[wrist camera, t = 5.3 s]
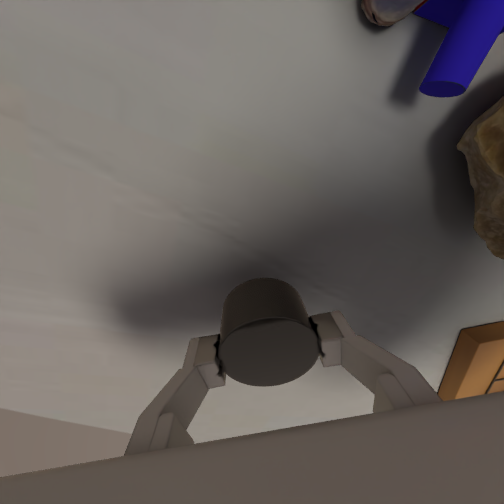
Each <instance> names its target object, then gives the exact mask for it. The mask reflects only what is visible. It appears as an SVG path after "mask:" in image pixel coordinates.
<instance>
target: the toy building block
mask: <svg viewBox="0 0 504 504" xmlns="http://www.w3.org/2000/svg"><path fill="white" fill-rule="evenodd" d="M413 14H416V15H418V16H421V17H423V18H426V19H428V20H431V21H433V22H436V23H438V24H441V25H443V26H446V27H448V28H449V30H448V32H447V34H446V36H445V38H444V40H443V42H442V44H441V46H440V48H439V50H438V52H437V54H436V56H435V58H434V60H433V62H432V64H431V66H430V68H429V70H428V72H427V74H426V76H425V78H424V79H423V81H422V83H421V85H420V87H419V90H420V92H422V93H423V94H426V95H429V96H434V97H453V96H458V95H461V94H463V93H464V92H465V91H466V89H467V87H468V86H469V84H470V82H471V81H472V79H473V77H474V76H475V74H476V72H477V70H478V69H479V67H480V65H481V64H482V62H483V60H484V59H485V57H486V55H487V54H488V52H489V50H490V48H491V47H492V45H493V43H494V42H495V40H496V38H497V37H498V35H499V34H501V33H503V32H504V0H424V1H423V2H422V3H420V4H419V5H418V6H417V7H416V8H415V10H414V12H413Z"/></svg>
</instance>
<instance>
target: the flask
mask: <svg viewBox="0 0 504 504" xmlns="http://www.w3.org/2000/svg"><path fill="white" fill-rule="evenodd" d="M423 1H424V0H362V3H361V8H362V9H363V10H364V12H365V15H366V18H368V20H369V21H370V22H371V23H374V24H375V23H376V22H375V21H374V20H373V17H372V12H373V14H374V15H375V19H376V20H377V22H378V23H376V24H378V25H379V26H382V25H383V26H388V27H389V26H391V25H393V24H394V23H396V22H398V21H400V20H402V19H403V18H405V17H406V16H407V15H408V14H409V13H410V12H412V11H413V10H414V9H415V8H416V7H417V6H418V5H419V4H420V3H422V2H423Z"/></svg>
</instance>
